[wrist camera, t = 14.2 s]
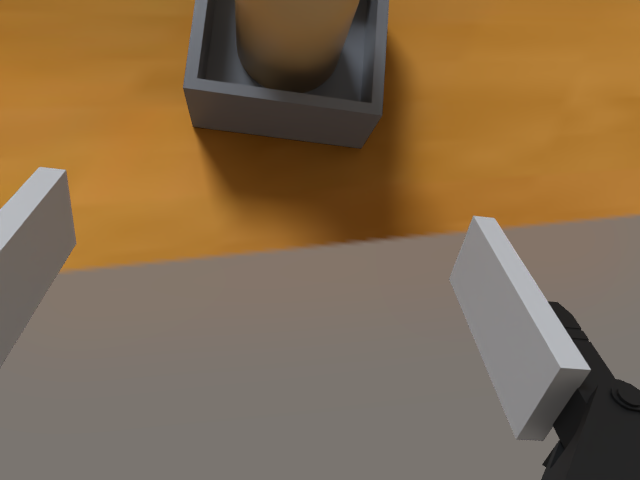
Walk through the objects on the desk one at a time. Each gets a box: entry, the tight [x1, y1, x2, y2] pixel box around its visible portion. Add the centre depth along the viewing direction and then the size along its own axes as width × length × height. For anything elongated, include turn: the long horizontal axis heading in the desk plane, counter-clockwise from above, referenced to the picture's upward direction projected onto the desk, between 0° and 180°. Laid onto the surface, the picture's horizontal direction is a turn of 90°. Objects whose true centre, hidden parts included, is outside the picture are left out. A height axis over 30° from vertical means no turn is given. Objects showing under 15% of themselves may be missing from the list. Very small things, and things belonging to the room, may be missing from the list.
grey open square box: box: [183, 0, 389, 148], centre depth 24 cm, size 8×8×4 cm
